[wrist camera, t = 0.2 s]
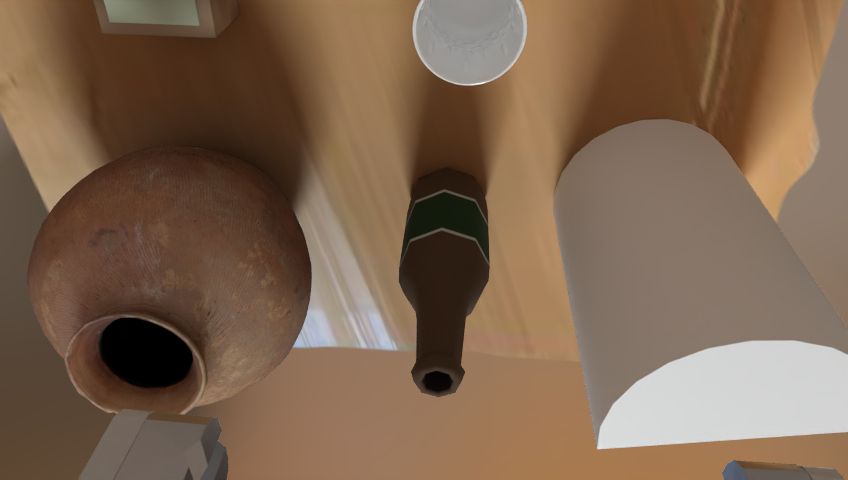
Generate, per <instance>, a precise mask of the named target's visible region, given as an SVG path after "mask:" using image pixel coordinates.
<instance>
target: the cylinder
mask: <svg viewBox="0 0 848 480" xmlns="http://www.w3.org/2000/svg"><path fill="white" fill-rule="evenodd" d="M553 214H554V219H555V225H556V230H557V235H558V241H559V246H560V252H561V257H562V262H563V268H564V273H565V279H566V284H567V290H568V295H569V300H570V306H571V311H572V317H573V322H574V327H575V333H576V338H577V344H578V349H579V354H580V360H581V365H582V370H583V376H584V381H585V387H586V392H587V398H588V403H589V409H590V414H591V419H592V424H593V430H594V436H595V441H596V446H597V449H607V448H622V447H637V446H651V445H665V444H680V443H694V442H707V441H721V440H736V439H751V438H765V437H779V436H794V435H808V434H822V433H837V432H848V327H847V326H846V325H845V323H844V322H843V320H842V319H841V317H840V316H839V314H838V313H837V311H836V310H835V308H834V307H833V305H832V304H831V303H830V301H829V300H828V298H827V297H826V295H825V294H824V292H823V291H822V289H821V288H820V287H819V285H818V283H817V282H816V281H815V279H814V278H813V276H812V275H811V273H810V272H809V270H808V269H807V267H806V266H805V265H804V263H803V261H802V260H801V259H800V257H799V256H798V254H797V253H796V251H795V250H794V248H793V247H792V245H791V244H790V242H789V241H788V240H787V238H786V237H785V235H784V234H783V232H782V231H781V229H780V228H779V226H778V225H777V223H776V222H775V220H774V219H773V217H772V216H771V215H770V213H769V212H768V210H767V209H766V207H765V206H764V204H763V203H762V201H761V200H760V198H759V197H758V195H757V194H756V193H755V191H754V190H753V188H752V187H751V185H750V184H749V182H748V181H747V179H746V178H745V176H744V175H743V173H742V172H741V171H740V169H739V168H738V166H737V165H736V163H735V162H734V160H733V159H732V157H731V156H730V154H729V153H728V151H727V150H726V149H725V148H724V147H723V146H722V145H721V144H720V143H719V142H718V141H717V140H716V139H715V138H714V137H713V135H711V134H710V133H708V132H706V131H704V130H702V129H700V128H698V127H696V126H694V125H693V124H689V123H685V122H680V121H675V120H670V119H652V120H639V121H636V122H632V123H628V124H625V125H621V126H617V127H615V128H613V129H611V130H609V131H607V132H605V133H603V134H601V135H599V136H598V137H596V138H594V139H592V140H591V141H590V142H589V143H588V144H587V145H585V146H584V147H583V148H582V149H581V150H580V151H578V152H577V153H576V154H575V155H574V156H573V158H572V159H571V160H570V162H569V163H568V165H567V166H566V167H565V169H564V170H563V172H562V173H561V176H560V178H559V181H558V184H557V186H556V189H555V192H554V205H553Z"/></svg>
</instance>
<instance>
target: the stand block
mask: <svg viewBox="0 0 848 480" xmlns="http://www.w3.org/2000/svg"><path fill="white" fill-rule="evenodd" d="M93 2H94V5H95V9H96V12H97V16H98V20H99V23H100V27H101V30H102V34H125V35H151V36H177V37H203V38H216V37H217V36H218V35H219V34H220V33H221V32H222V31H223V30H224V29H225V28H226V27H227V26H228V25H229V24H230V23H231V22H232V21H233V20H234V19H235V18H236V17H237V16H238V15H239V12H238V5H237V0H93Z"/></svg>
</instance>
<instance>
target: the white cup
mask: <svg viewBox="0 0 848 480" xmlns="http://www.w3.org/2000/svg"><path fill="white" fill-rule="evenodd" d="M526 35H527V19H526V13H525V10H524V7H523V4H522V2H521V0H420V1H419V4H418V6H417V8H416V11H415V14H414V19H413V40H414V44H415V48H416V50H417V53H418V55H419V57H420V58H421V60H422V62H423V63H424V64H425V65H426V67H427V68H428V69H429V70H430V71H431V72H432V73H434V74H435V75H436V76H438V77H439V78H441V79H443V80H445V81H447V82H450V83H453V84H458V85H466V86H471V85H480V84H484V83H487V82H490V81H492V80H494V79H496V78H498V77H500V76H501V75H503V74H504V73H505V72H506V71H508V70H509V69H510V68H511V67H512V65H513V64H514V63H515V62H516V60H517V59H518V57H519V56H520V54H521V52H522V50H523V47H524V44H525V40H526Z"/></svg>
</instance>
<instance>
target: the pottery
mask: <svg viewBox="0 0 848 480" xmlns="http://www.w3.org/2000/svg"><path fill="white" fill-rule="evenodd" d="M311 279H312V272H311V261H310V257H309V252H308V248H307V244H306V240H305V237H304V233H303V231H302V228H301V226H300V224H299V222H298V220H297V217H296V215H295V213H294V212H293V210H292V208H291V206H290V205H289V203H288V201H287V200H286V198H285V197H284V195H283V194H282V193H281V191H280V190H279V189H278V187H277V186H276V185H275V184H274V183H273V182H272V181H271V180H270V179H269V178H268V177H267V176H266V175H265V174H264V173H263V172H261V171H260V170H259V169H257V168H256V167H254V166H253V165H251V164H249V163H247V162H245V161H244V160H242V159H239V158H237V157H234V156H231V155H228V154H226V153H222V152H218V151H214V150H209V149H204V148H198V147H190V146H179V145H163V146H157V147H151V148H147V149H143V150H140V151H136V152H134V153H131V154H128V155H125V156H123V157H121V158H119V159H117V160H115V161H113V162H111V163H109V164H106V165H104V166H102V167H100V168H98V169H96V170H94V171H93V172H92V173H90V174H89V175H88V176H86V177H85V178H83V179H82V180H81V181H80V182H78V183H77V184H76V185H75V186H74V187H73V188H72V189H70V190H69V191H68V192H67V193H66V194H65V195H64V196H63V197H62V198H61V199H60V201H59V202H58V203H57V204H56V205H55V206H54V208H53V209H52V210H51V212H50V213H49V215H48V216H47V218H46V219H45V220H44V222H43V224H42V226H41V228H40V230H39V233H38V235H37V237H36V240H35V242H34V245H33V249H32V252H31V256H30V261H29V266H28V272H27V285H28V290H29V295H30V298H31V302H32V305H33V308H34V311H35V314H36V317H37V319H38V321H39V323H40V326H41V328H42V330H43V332H44V334H45V335H46V337H47V338H48V339H49V341H50V342H51V344H52V345H53V346H54V348H55V350H56V351H57V352H58V353H59V354H60V355H61V356H62V357H63V358H64V360H65V366H66V370H67V372H68V375H69V377H70V379H71V381H72V383H73V385H74V386H75V387H76V389H77V391H78V393H80V394H81V395H83V396H84V397H86V398H87V399H88V400H89V401H91V402H92V403H93V404H94V405H96V406H97V407H99V408H100V409H102V410H103V411H106V412H108V413H111V412H113V413H114V414H116V415H117V414H118V413H119V412H120V411H121V410H122V409H133V410H145V411H156V412H163V413H173V414H185V413H187V412H188V411H189V410H191V409H193V407H197V406H202V405H208V404H211V403H215V402H218V401H221V400H224V399H226V398H229V397H231V396H234V395H236V394H238V393H240V392H242V391H244V390H245V389H247V388H249V387H251V386H252V385H254V384H255V383H257V382H258V381H260V380H261V379H263V378H264V377H266V376H267V375H268V374H269V373H270V372H271V371H272V370H273V369H274V368H276V367H277V366H278V365H279V364H280V363H281V362H282V361H283V359H284V358H285V357H286V356H287V355H288V353H289V351H290V350H291V348H292V347H293V345H294V343H295V341H296V339H297V337H298V335H299V333H300V331H301V329H302V327H303V324H304V321H305V318H306V315H307V310H308V306H309V301H310V293H311Z"/></svg>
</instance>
